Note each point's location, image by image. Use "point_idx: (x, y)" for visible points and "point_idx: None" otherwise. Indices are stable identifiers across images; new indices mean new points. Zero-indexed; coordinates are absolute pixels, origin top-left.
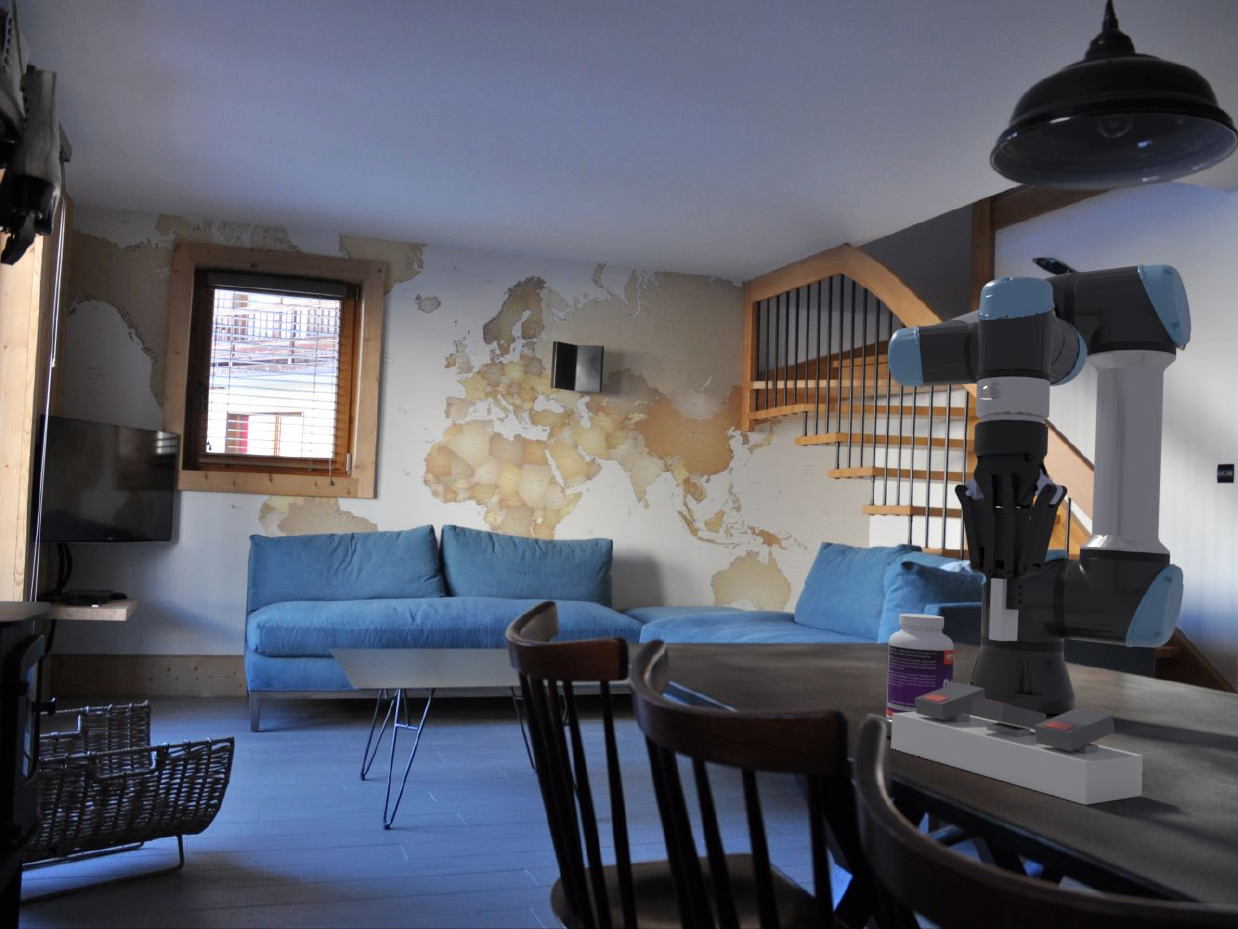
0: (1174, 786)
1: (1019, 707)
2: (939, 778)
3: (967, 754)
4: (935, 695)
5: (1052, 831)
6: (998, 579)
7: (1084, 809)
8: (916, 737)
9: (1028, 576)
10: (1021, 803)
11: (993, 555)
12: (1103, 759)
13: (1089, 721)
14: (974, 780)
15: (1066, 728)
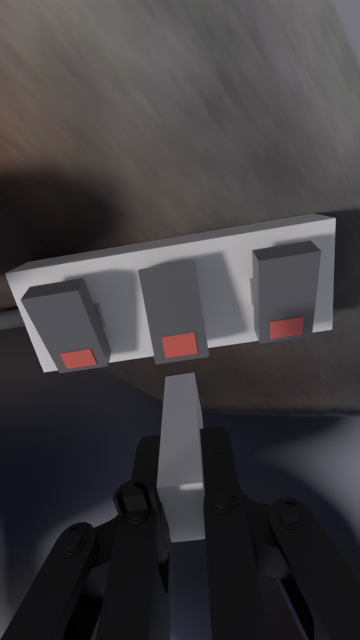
0: (297, 109)
1: (204, 324)
2: None
3: None
4: (68, 354)
5: (354, 397)
6: (197, 537)
7: None
8: None
9: (264, 508)
10: (285, 365)
11: (169, 630)
12: (330, 296)
13: (308, 292)
14: None
15: (301, 330)
